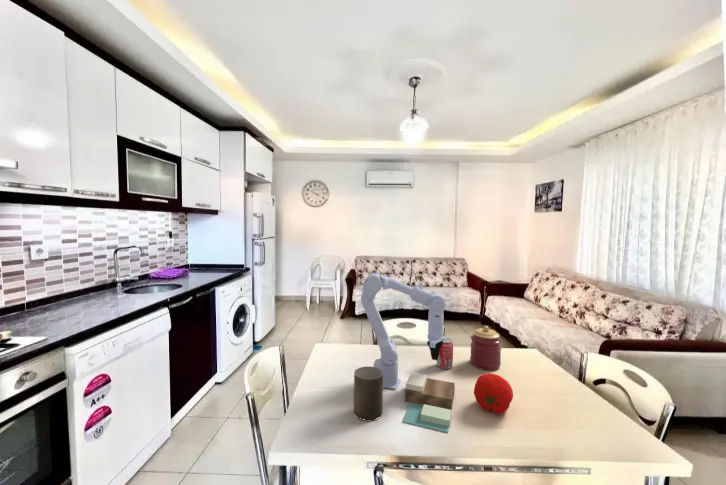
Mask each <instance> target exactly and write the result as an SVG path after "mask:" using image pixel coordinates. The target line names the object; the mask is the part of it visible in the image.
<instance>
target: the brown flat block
mask: <svg viewBox="0 0 726 485" xmlns="http://www.w3.org/2000/svg"><path fill="white" fill-rule="evenodd" d="M455 384H456V383H455V382H450V381H445V380H440V379H435V378H434V379H433V378H428V377H427V381H426V384H425V387H424V390H423V392H419V391H414V390H408V389H406V388H405V389H404V390H405V391H404V402H407V403H412V404H416V405H421V406H423V405H424V404H426V405H430V406H435V407H440V408H445V409H449V410H453V405H454V397H455V387H456V386H455Z"/></svg>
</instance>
